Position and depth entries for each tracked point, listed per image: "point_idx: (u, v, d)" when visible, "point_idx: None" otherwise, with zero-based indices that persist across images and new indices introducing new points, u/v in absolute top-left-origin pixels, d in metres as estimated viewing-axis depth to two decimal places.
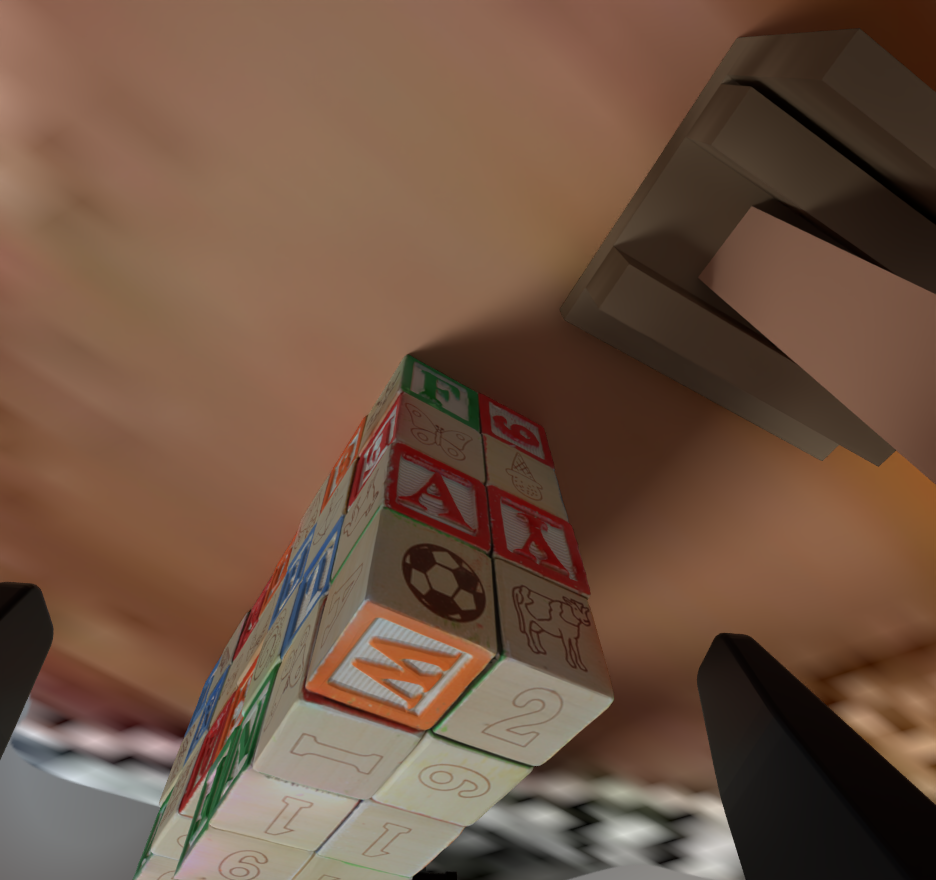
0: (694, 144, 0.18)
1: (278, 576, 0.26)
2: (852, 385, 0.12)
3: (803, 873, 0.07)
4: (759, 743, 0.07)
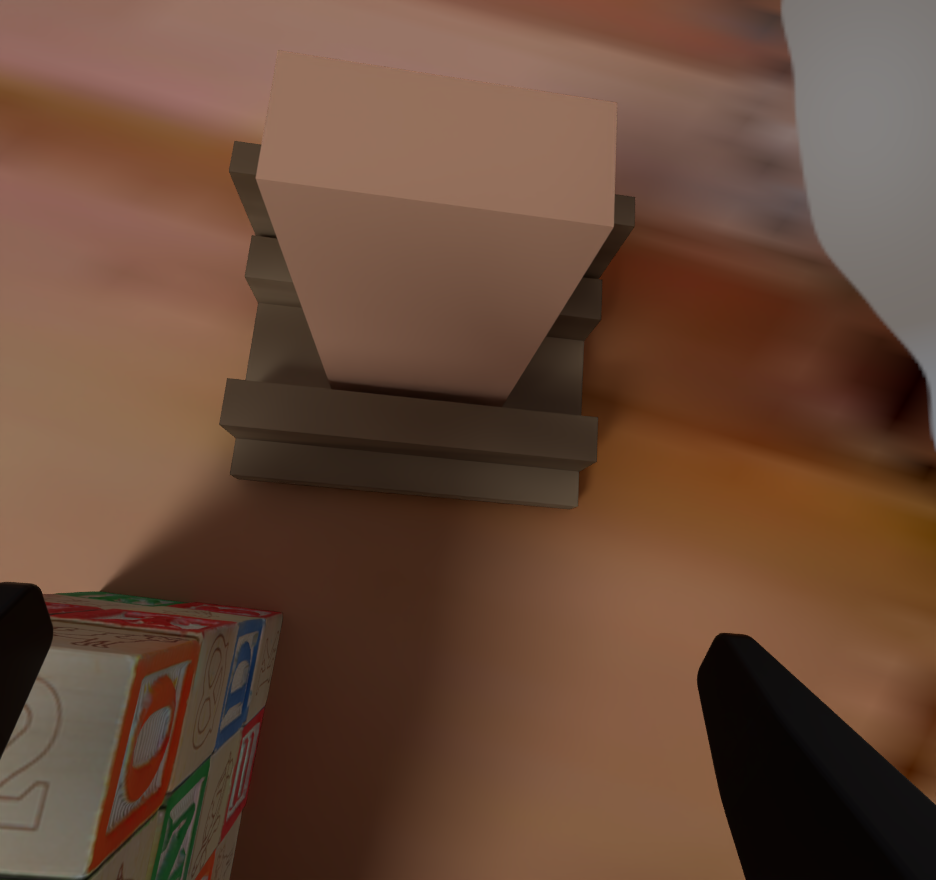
0: (268, 304, 0.22)
1: None
2: None
3: (803, 873, 0.07)
4: (759, 743, 0.07)
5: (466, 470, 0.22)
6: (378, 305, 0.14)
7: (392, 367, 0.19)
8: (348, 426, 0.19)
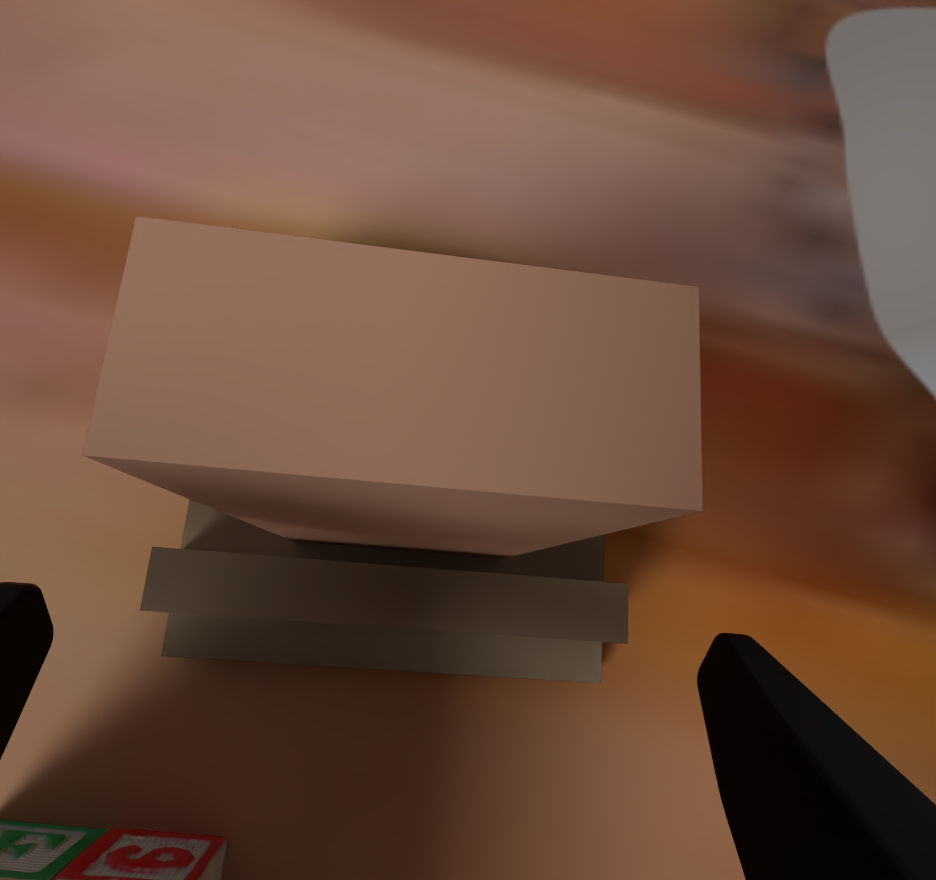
0: None
1: None
2: None
3: (803, 873, 0.07)
4: (759, 743, 0.07)
5: (461, 640, 0.17)
6: (333, 519, 0.10)
7: (364, 539, 0.14)
8: (309, 607, 0.15)
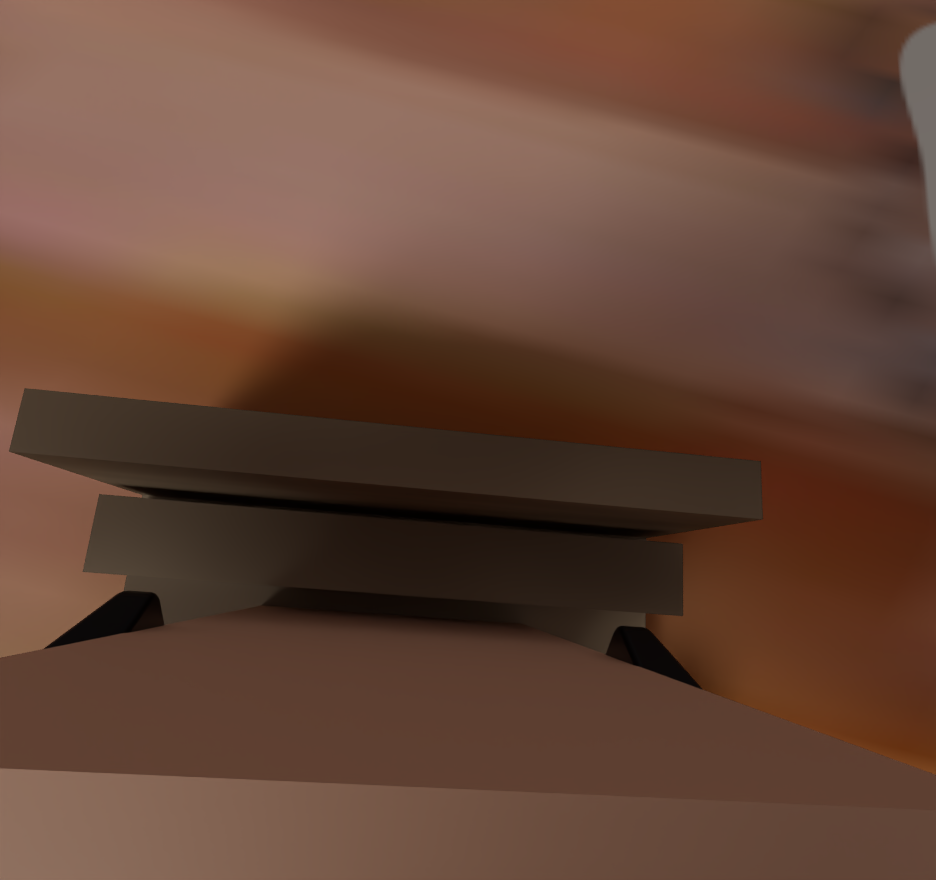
0: None
1: None
2: None
3: None
4: None
5: None
6: None
7: None
8: None
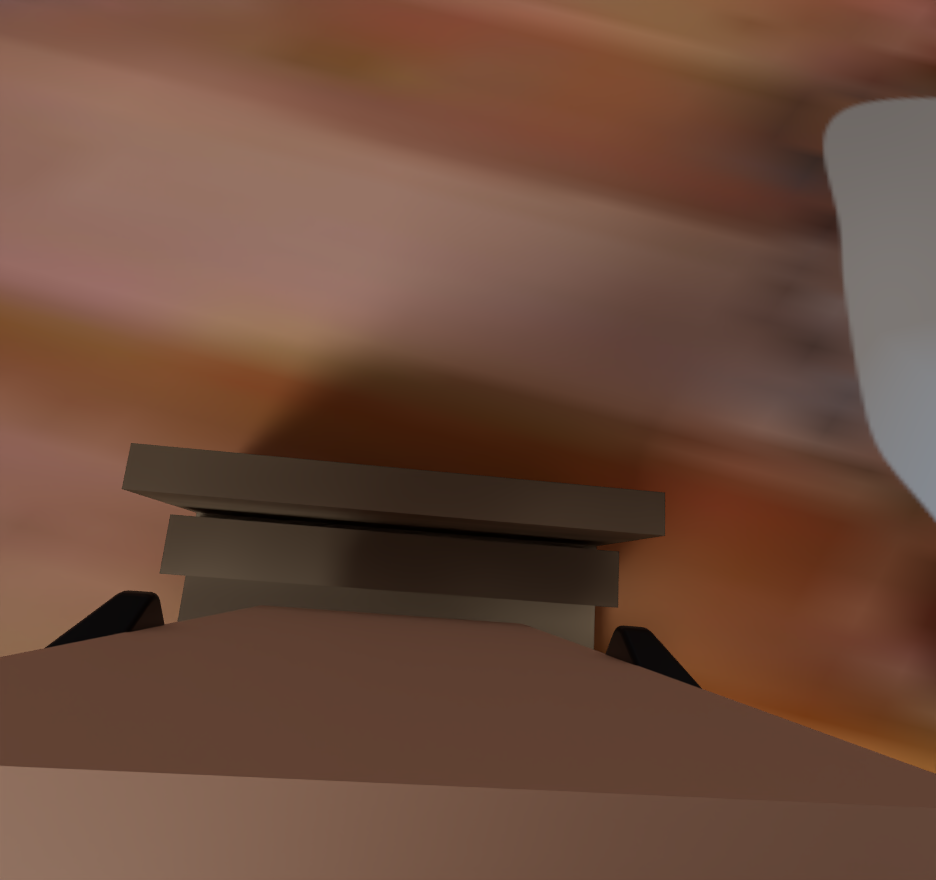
0: (199, 575, 0.18)
1: None
2: None
3: None
4: None
5: None
6: None
7: None
8: None
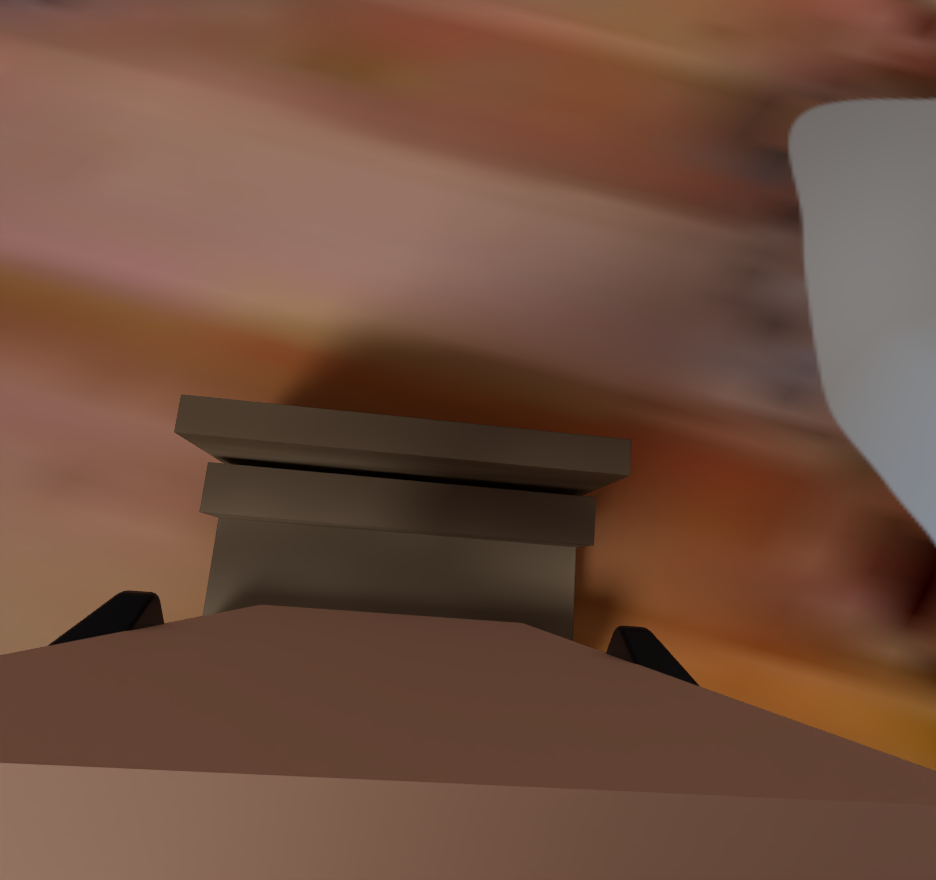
0: (230, 519, 0.20)
1: None
2: None
3: None
4: None
5: None
6: None
7: None
8: None
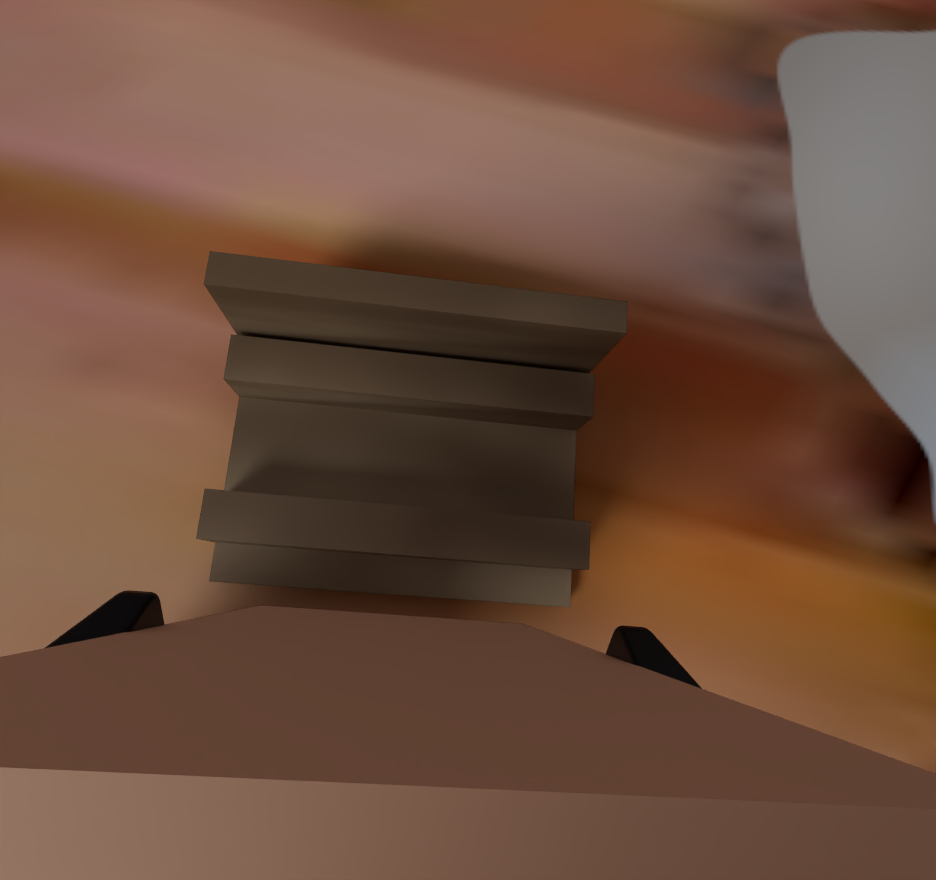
0: (250, 398, 0.21)
1: None
2: None
3: None
4: None
5: (455, 571, 0.21)
6: None
7: None
8: (331, 537, 0.19)
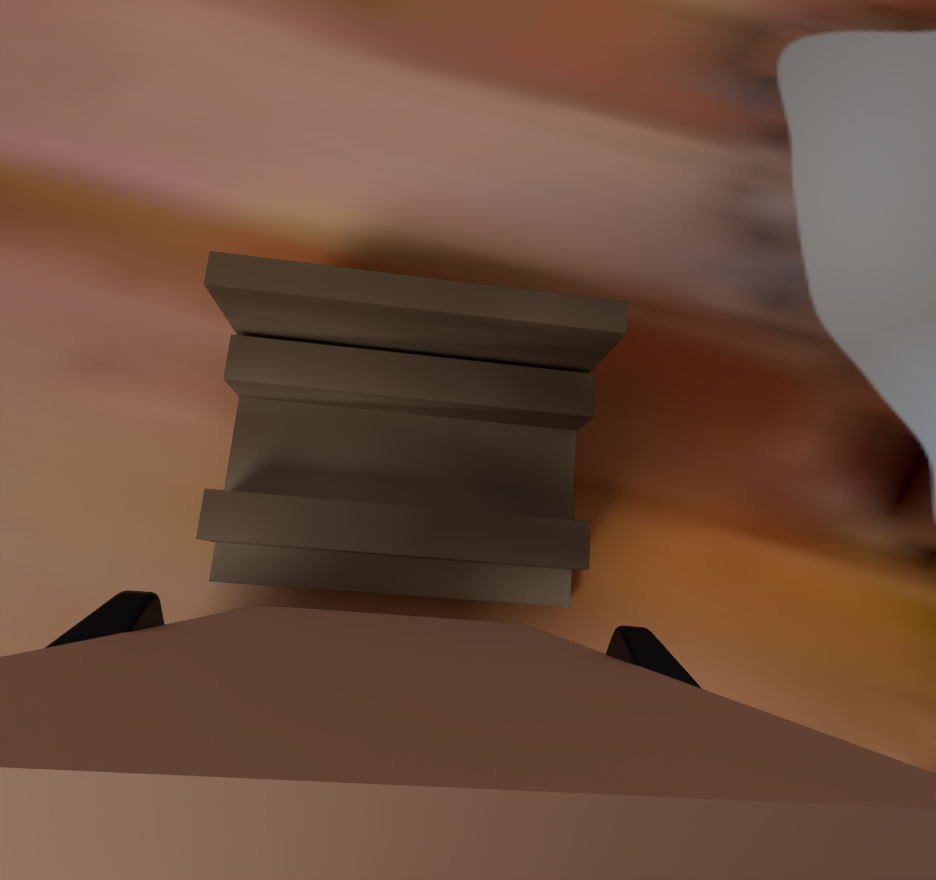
0: (250, 398, 0.21)
1: None
2: None
3: None
4: None
5: (454, 571, 0.21)
6: None
7: None
8: (331, 537, 0.19)
